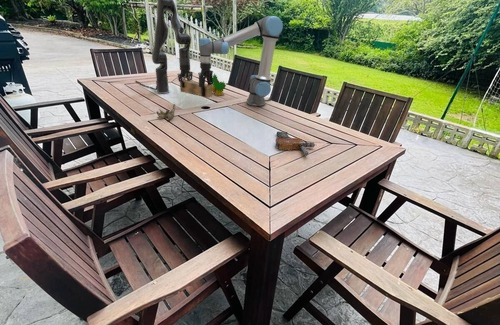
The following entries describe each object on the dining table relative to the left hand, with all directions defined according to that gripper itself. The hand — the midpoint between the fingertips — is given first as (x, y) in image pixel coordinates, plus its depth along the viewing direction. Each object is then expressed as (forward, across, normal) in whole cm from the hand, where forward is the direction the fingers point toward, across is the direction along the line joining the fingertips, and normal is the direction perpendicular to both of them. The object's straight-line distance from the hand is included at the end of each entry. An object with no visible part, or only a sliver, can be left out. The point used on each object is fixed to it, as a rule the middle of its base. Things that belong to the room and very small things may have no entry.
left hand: (186, 86), depth 200 cm
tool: (+14, +19, +102) cm, 104 cm away
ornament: (+13, -40, +2) cm, 43 cm away
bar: (+4, 0, +10) cm, 11 cm away
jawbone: (+13, +33, +13) cm, 38 cm away
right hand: (+3, 0, +20) cm, 20 cm away
